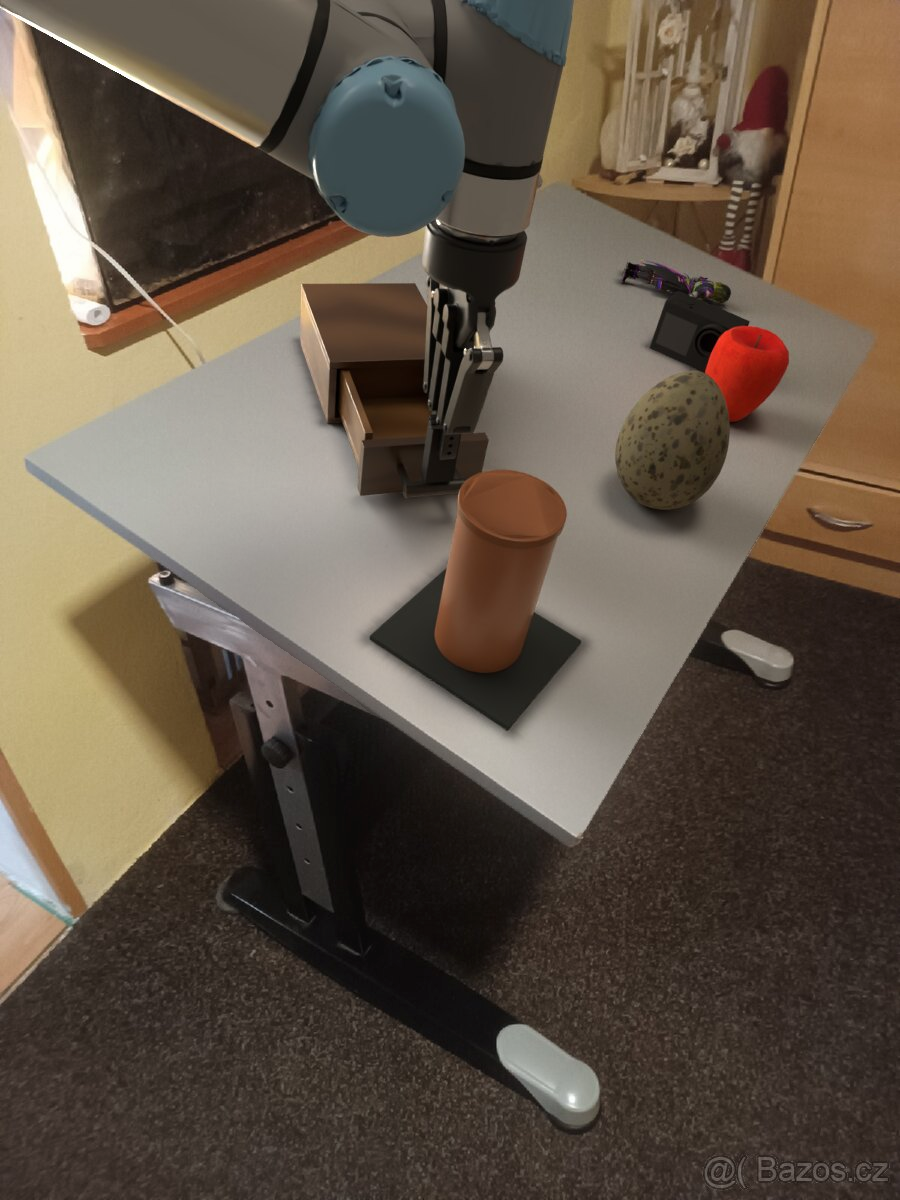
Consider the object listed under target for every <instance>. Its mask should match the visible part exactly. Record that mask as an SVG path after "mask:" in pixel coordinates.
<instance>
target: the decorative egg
mask: <svg viewBox="0 0 900 1200" xmlns="http://www.w3.org/2000/svg"><path fill="white" fill-rule="evenodd" d="M730 424H731V423H730V422H729V415H728V409H727V405H726V401H725V398H724V395H723V393H722V392H721V390H720V388H719V386H718V385H717V383H716V382H715V381H714V380H713V379H712V378H711V377H710V376H709V375H707V374H705V373H704V372H701V371H699V370H686V371H681V372H677V373H675V374H673V375H671V376H668V377H667V378H665V379H663V380H660V382H658V383H656V384H655V385H653V387H651V388H650V389H649V390H648V391H647V392H646V393H645V394H644V395H643V396H642V397H641V398H639V400H638V401H637V402H636V403H635V405H634V406H633V407H632V409H631V410H630V411H629V413H628V414H627V416H626V418H625V420H624V422H623V423H622V426H621V428H620V431H619V433H618V436H617V440H616V443H615V444H616V445H615V453H614V457H615V459H614V461H615V469H616V472H617V473H616V474H617V476H618V478H619V481H620V483H621V485H622V486H623V488H624V490H625V491H626V492H627V494H629V496H630V497H631V499H633V500H635V502H637V503H639V504H640V505H643V506H644V507H647V508H649V509H654V510H659V511H660V510H662V511H666V510H667V511H668V510H677V509H679V508H682V507H686V506H687V505H690V504H692V503H694V502H696V501H697V500H698V499H699V498H701V497H702V496H704V494H706V493H707V492H708V491H709V490H710V488H711V487H712V486H713V485H714V483H715V482H716V480H718V478H719V475H720V473H721V471H722V469H723V467H724V464H725V462H726V459H727V455H728V450H729V445H730V436H731V433H730V429H731V428H730V427H731V426H730Z"/></svg>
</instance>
